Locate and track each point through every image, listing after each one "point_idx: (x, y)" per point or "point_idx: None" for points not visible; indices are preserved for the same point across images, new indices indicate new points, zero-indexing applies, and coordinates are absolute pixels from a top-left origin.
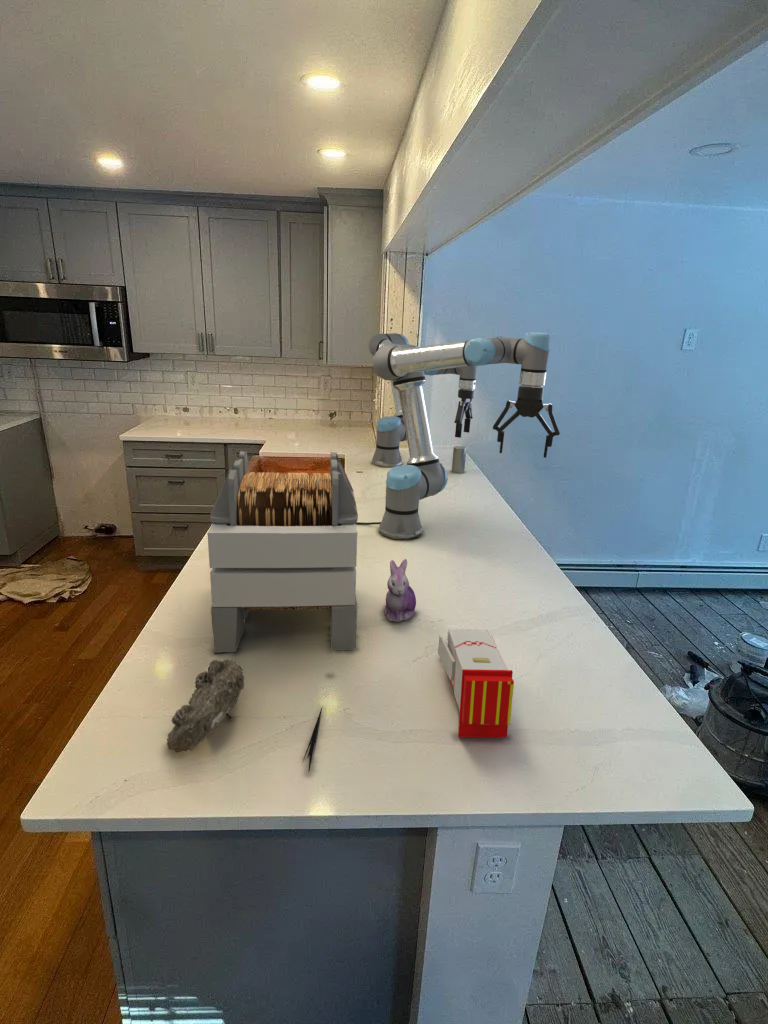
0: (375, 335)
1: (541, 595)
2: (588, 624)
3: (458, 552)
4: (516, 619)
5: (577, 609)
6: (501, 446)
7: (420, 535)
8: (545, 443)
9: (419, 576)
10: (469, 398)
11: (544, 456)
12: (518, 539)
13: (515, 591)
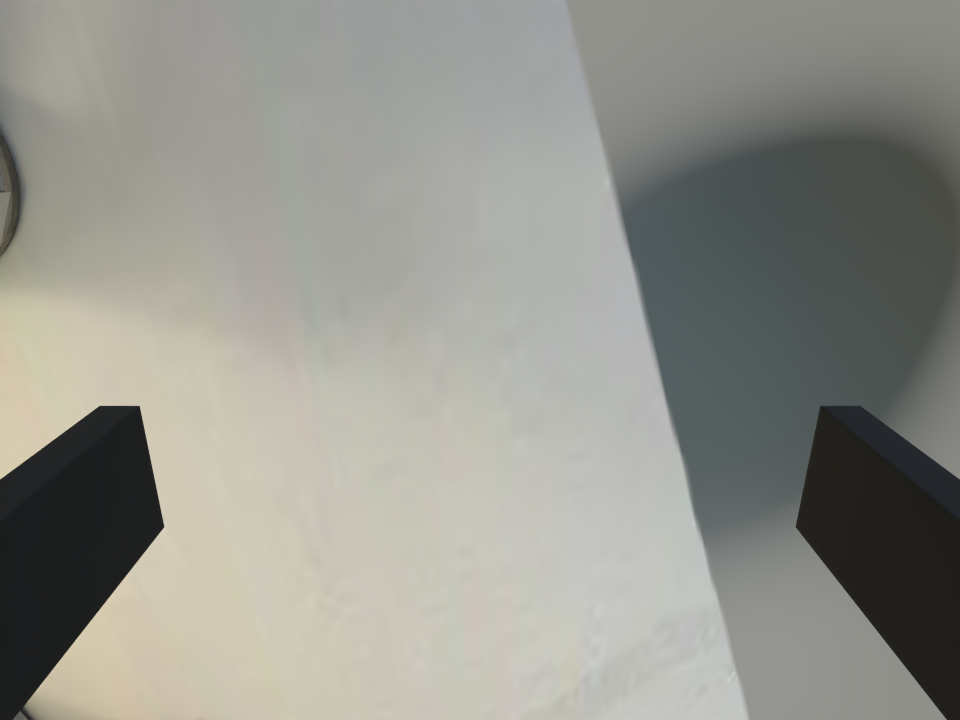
0: None
1: (597, 574)
2: (716, 687)
3: (253, 322)
4: (516, 714)
5: (701, 623)
6: (86, 601)
7: (17, 193)
8: (956, 618)
9: (179, 569)
10: None
11: (812, 538)
12: (519, 35)
13: (511, 573)
